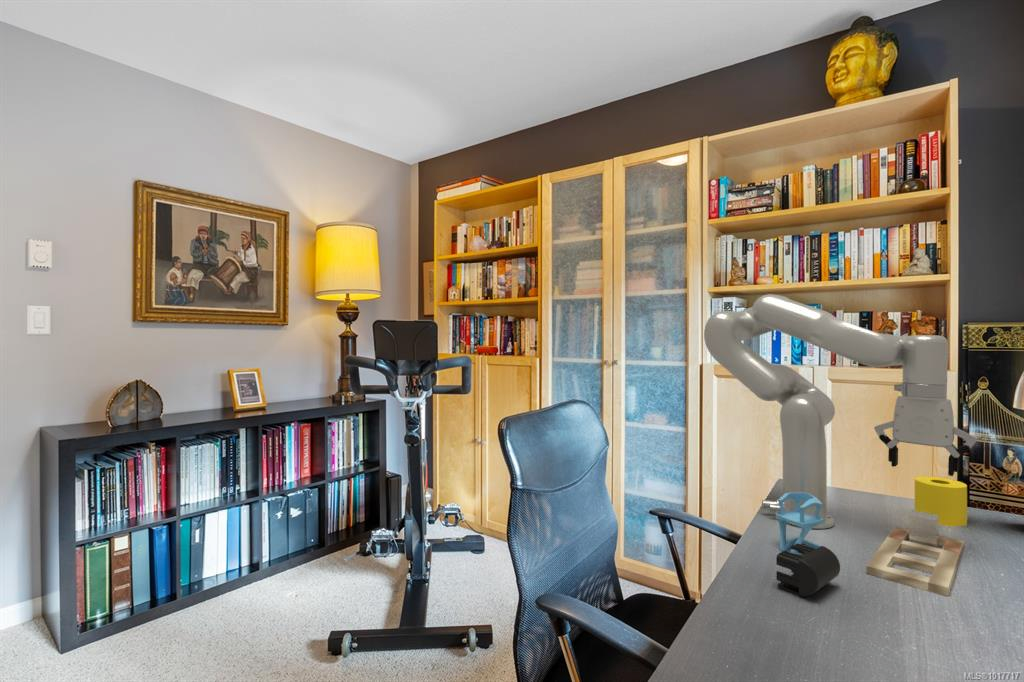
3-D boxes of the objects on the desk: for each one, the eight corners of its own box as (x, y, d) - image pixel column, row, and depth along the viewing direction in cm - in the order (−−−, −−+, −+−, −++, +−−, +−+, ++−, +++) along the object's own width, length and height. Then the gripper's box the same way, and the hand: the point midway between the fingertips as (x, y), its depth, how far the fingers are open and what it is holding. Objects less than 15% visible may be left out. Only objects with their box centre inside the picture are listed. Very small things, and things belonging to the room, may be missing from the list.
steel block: (909, 547, 109) (909, 515, 109) (912, 541, 112) (912, 510, 112) (936, 553, 106) (936, 520, 106) (938, 547, 109) (938, 515, 109)
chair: (770, 546, 110) (770, 491, 110) (796, 540, 113) (796, 487, 113) (802, 560, 103) (802, 502, 103) (829, 553, 106) (829, 497, 106)
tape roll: (962, 517, 128) (962, 480, 128) (971, 529, 119) (971, 490, 119) (912, 509, 133) (912, 474, 133) (917, 521, 125) (917, 483, 125)
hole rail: (866, 573, 97) (866, 565, 97) (895, 532, 117) (895, 525, 117) (948, 596, 88) (948, 587, 88) (963, 547, 109) (963, 540, 109)
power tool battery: (817, 605, 86) (817, 566, 86) (775, 589, 91) (775, 552, 91) (840, 587, 92) (840, 550, 92) (799, 573, 97) (799, 538, 97)
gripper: (872, 389, 113) (870, 465, 113) (976, 397, 100) (974, 482, 101) (879, 387, 118) (877, 459, 118) (979, 394, 106) (977, 475, 106)
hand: (922, 470), depth 109 cm, fingers open, 9 cm apart
